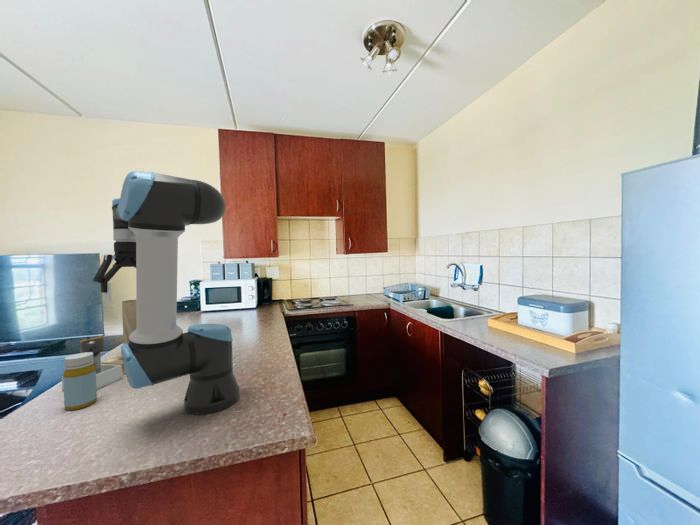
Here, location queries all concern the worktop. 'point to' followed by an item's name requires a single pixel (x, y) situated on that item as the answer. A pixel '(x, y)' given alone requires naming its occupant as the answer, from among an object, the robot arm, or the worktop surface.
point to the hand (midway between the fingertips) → (129, 299)
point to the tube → (129, 318)
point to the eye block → (116, 362)
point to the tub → (106, 375)
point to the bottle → (79, 381)
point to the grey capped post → (94, 350)
